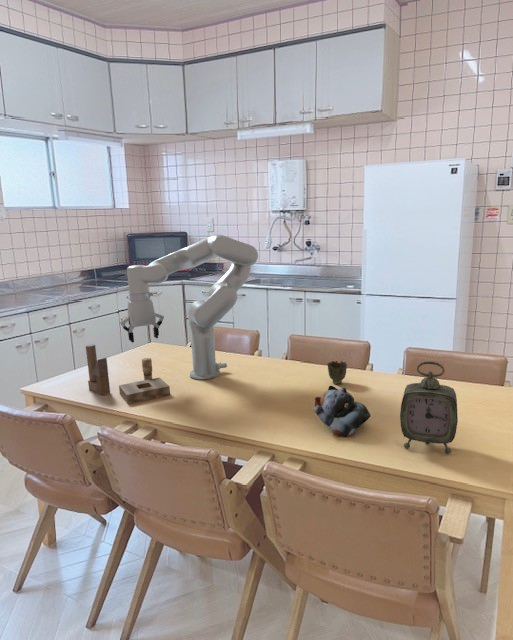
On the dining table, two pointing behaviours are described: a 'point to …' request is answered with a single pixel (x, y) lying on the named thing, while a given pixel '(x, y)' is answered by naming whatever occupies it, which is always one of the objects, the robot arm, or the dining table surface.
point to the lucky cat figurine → (340, 411)
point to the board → (144, 390)
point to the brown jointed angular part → (97, 371)
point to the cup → (337, 371)
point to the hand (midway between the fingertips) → (144, 339)
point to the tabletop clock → (429, 411)
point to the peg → (147, 368)
